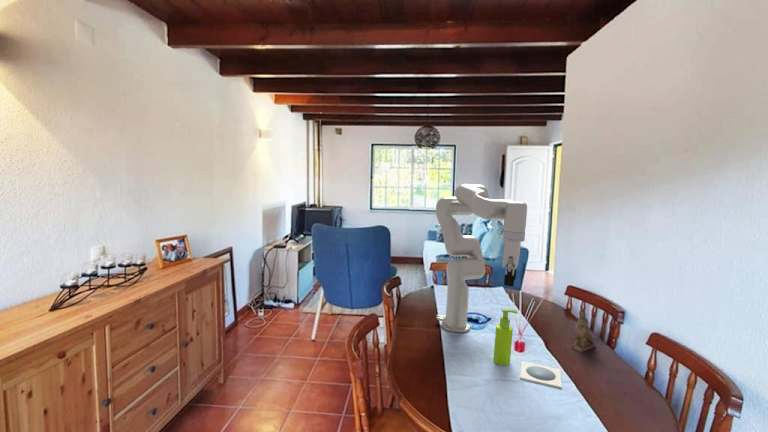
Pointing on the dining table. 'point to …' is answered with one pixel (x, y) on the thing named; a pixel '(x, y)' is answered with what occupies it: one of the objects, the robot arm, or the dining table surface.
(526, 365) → the card
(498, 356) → the soap dispenser
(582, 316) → the brown carved statuette
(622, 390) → the dining table surface
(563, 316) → the dining table surface
